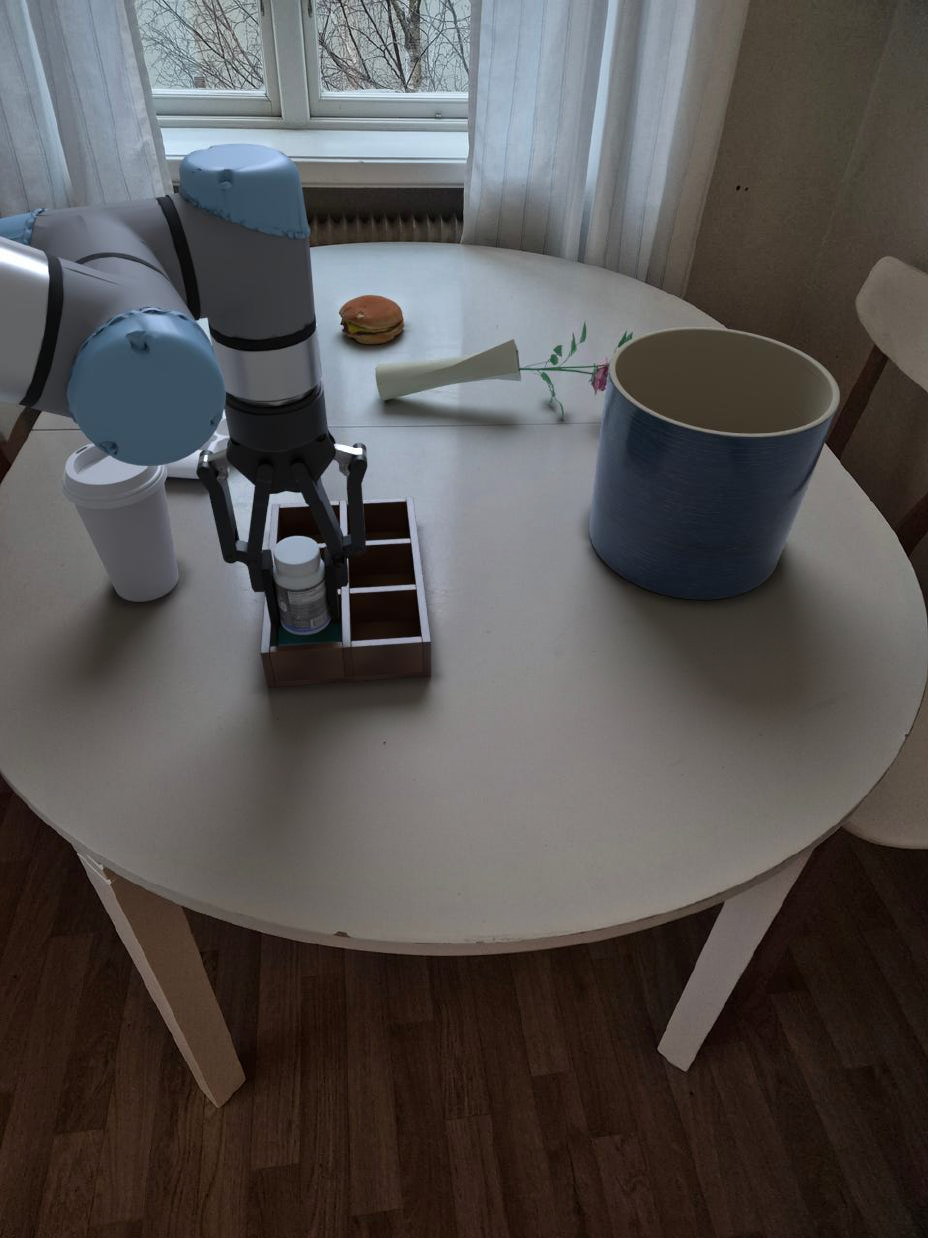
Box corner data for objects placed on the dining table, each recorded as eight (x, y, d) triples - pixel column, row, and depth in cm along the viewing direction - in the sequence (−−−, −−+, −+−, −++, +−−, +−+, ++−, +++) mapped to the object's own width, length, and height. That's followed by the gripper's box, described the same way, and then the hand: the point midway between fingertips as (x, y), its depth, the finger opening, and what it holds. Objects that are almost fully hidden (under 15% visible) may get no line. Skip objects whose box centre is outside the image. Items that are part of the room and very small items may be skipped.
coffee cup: (168, 541, 96) (136, 422, 85) (209, 586, 90) (180, 465, 80) (84, 576, 91) (39, 455, 81) (122, 625, 86) (79, 502, 76)
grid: (267, 687, 80) (260, 653, 77) (277, 537, 97) (271, 503, 94) (431, 675, 82) (431, 641, 79) (413, 529, 98) (413, 496, 95)
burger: (405, 319, 138) (404, 290, 135) (402, 345, 131) (401, 316, 128) (343, 318, 138) (341, 289, 134) (337, 345, 131) (334, 315, 128)
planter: (545, 524, 99) (562, 362, 86) (677, 463, 109) (712, 309, 95) (688, 633, 87) (736, 464, 73) (823, 553, 97) (887, 390, 83)
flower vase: (401, 433, 127) (642, 397, 121) (385, 455, 116) (648, 416, 110) (384, 351, 122) (634, 309, 116) (365, 366, 111) (640, 320, 105)
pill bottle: (278, 605, 82) (266, 536, 76) (328, 599, 83) (320, 529, 77) (282, 640, 78) (270, 570, 73) (334, 632, 79) (326, 562, 73)
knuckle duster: (92, 479, 104) (136, 417, 115) (238, 489, 103) (269, 425, 114) (84, 455, 102) (129, 394, 112) (234, 465, 101) (265, 402, 111)
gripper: (389, 354, 67) (398, 579, 83) (155, 362, 66) (211, 590, 82) (394, 403, 62) (403, 633, 78) (140, 413, 60) (203, 646, 76)
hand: (305, 611), depth 80 cm, fingers closed on pill bottle, 5 cm apart
